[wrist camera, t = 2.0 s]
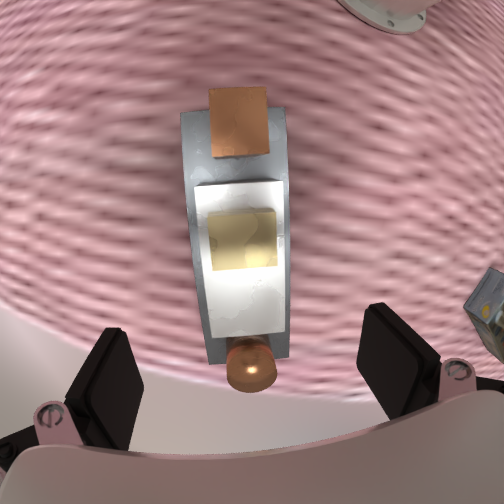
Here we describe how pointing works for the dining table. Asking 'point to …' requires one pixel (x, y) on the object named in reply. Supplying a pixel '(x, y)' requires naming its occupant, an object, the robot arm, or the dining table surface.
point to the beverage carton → (489, 311)
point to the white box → (243, 255)
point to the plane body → (234, 169)
